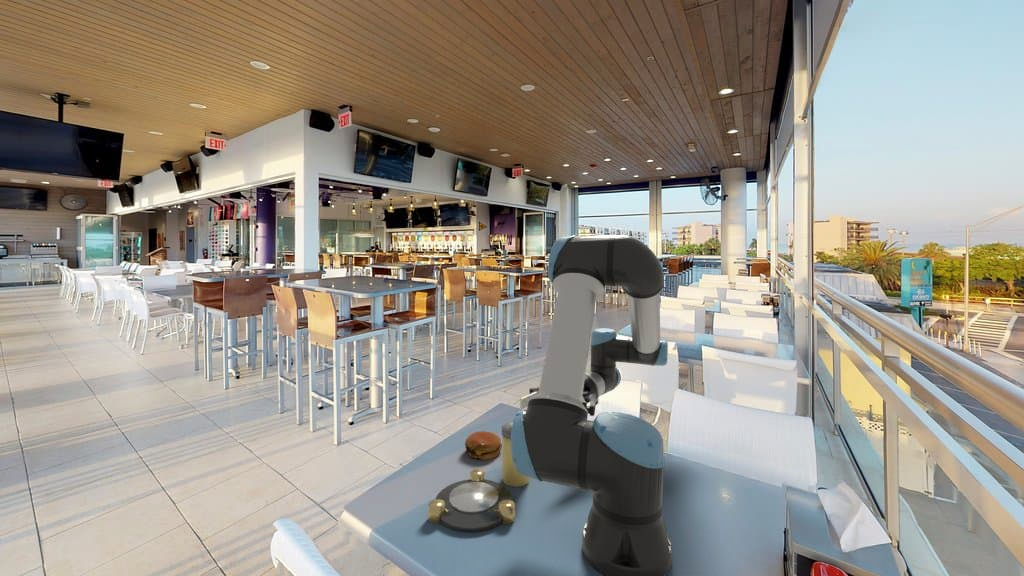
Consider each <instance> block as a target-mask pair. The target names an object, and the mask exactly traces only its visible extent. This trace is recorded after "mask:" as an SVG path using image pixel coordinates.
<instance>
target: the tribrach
mask: <svg viewBox="0 0 1024 576" xmlns="http://www.w3.org/2000/svg"><path fill="white" fill-rule="evenodd" d="M485 474H486V473H485V470H484V469H480V468H475V469H472V470H471V471H470V479H469V478H468V479H464V480H460V481H456V482H454V483H451V484H450V485H447V486H446V487H444V488H442V489H441V490H440V492H438V494H437V495H436V497H435V499H433V500H430V501H429V502H428V507H427V509H428V521H429V523H431V524H442V526H444V527H446V528H448V529H450V528H451V529H450V530H453V529H454V530H453V531H456V530H457V532H461V531H464V532H463V533H478V532H484V531H488V530H491V529H494V528H495V527H499V526H500V525H501V524H502V525H511V524H513V523H514V522H515V521H516V503H515V501H513V495H512V493H511V492H510V490H509V489H508V488H507V487H506V486H504V485H503V484H501V483H500V482H497V481H495V480H489V479H485Z"/></svg>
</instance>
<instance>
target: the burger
mask: <svg viewBox="0 0 1024 576" xmlns="http://www.w3.org/2000/svg"><path fill="white" fill-rule="evenodd" d="M464 445H465V450H466V451H465V452H466V453H467V454H468V456H470V457H472V458H473V459H480V460H482V461H488V460H493V459H495V458H497V457H498V456H499V455H500V453H501V450H502V449H503V443H502V442H501V438H500V436H499V435H498V434H496V433H495V432H491V431H484V430H483V431H482V430H480V431H475V432H473V433H471V434H470V435H468V436H467V438H466V440H465V442H464Z"/></svg>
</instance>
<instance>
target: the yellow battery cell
mask: <svg viewBox="0 0 1024 576" xmlns="http://www.w3.org/2000/svg"><path fill="white" fill-rule="evenodd" d="M512 424H513V421H510V422H506V423H504V424H503V425H501V435H502V481H503V483H504V484H505V485H506V486H509V487H513V486H514V487H515V488H516V487H517V488H520V487H523V486H526V485H529V483H530V482H531V478H529V477H526V476H523V475H521V474H520V473H519V472H518V471H517V470H516V468H515V466H514V463H513V459H512V454H511V430H512Z"/></svg>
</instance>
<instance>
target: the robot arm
mask: <svg viewBox="0 0 1024 576" xmlns="http://www.w3.org/2000/svg"><path fill="white" fill-rule="evenodd" d="M547 262H548V265H547V276H548V280H549V282H550V283H551V284H552V287H553V289H554V291H555V292H556V293H557V295H556V300H555V306H554V311H553V316H552V322H551V326H550V330H549V331H550V332H549V337H548V341H547V346H546V347H547V348H546V351H545V356H544V357H545V358H544V362H543V367H542V372H541V377H540V382H539V387H532V388H529V392H528V393H529V394H527V395H524V396H522V397H520V399H519V401H520V402H519V406H520V407H519V408H520V409H521V410H518V411H517V412H516V414H515V417H514V418H513V421H512V422H513V424H512V430H511V454H512V459H513V463H514V466H515V468H516V470H517V471H518V472H519V473H520V474H521V475H523V476H526V477H529V478H530V479H533V480H536V481H538V482H541V483H542V482H547V483H550V484H557V485H561V486H564V487H569V488H570V487H571V488H576V489H580V490H585V491H590V492H592V493H593V494H592V506H591V508H590V511H589V513H588V517H587V520H586V523H584V527H583V530H582V534H581V535H582V538H581V539H582V540H581V542H582V543H581V544H582V545H581V547H582V548H581V549H582V552H583V555H584V557H585V558H586V560H587V561H588V563H589V564H590V565H591V566H592V567H593V568H594V569H595V570H597V571H598V572H599V573H601V574H602V575H605V576H664V575H665V574H666V573H667V572H668V571H669V572H670V570H671V568H672V562H673V549H672V543H671V540H670V538H669V536H668V532H667V527H666V524H665V520H664V517H663V499H664V498H663V494H664V493H663V492H664V491H663V490H664V488H663V486H664V485H663V484H664V466H665V464H666V463H665V462H666V458H665V451H664V438H663V436H662V434H661V432H660V431H659V429H657V428H656V427H655V425H652V424H651V423H650V422H648V421H647V420H645V419H643V418H641V417H638V416H636V415H632V414H630V413H625V412H624V413H623V412H619V411H612V412H608V411H605V412H600V413H599V414H597V415H596V416H595V413H596V406H597V405H598V404H599V398H600V397H601V396H603V395H605V394H607V393H609V392H611V391H613V390H614V389H616V388H617V387H618V386H619V385H620V384H621V382H622V375H621V373H620V370H619V368H618V367H617V363H626V364H634V365H635V364H637V365H646V366H653V367H654V366H655V367H656V366H658V367H659V366H661V367H663V366H666V365H667V364H668V352H669V351H668V350H669V349H668V348H669V346H668V345H669V344H668V341H667V340H665V339H661V303H660V302H661V301H660V298H661V297H660V296H661V295H660V293H661V292H662V290H663V289H664V286H665V273H664V270H663V267H662V264H661V262H660V260H659V258H658V257H657V255H656V254H655V253H654V252H653V250H652V249H650V247H649V246H647V244H645V243H644V242H642V241H641V240H639V239H637V238H635V237H632V236H629V235H627V234H626V235H625V234H616V235H610V234H609V235H577V234H573V235H570V236H562V237H559V238H558V239H556V240H555V241H554V243H553V245H552V247H551V249H550V253H549V257H548V261H547ZM606 287H621V288H622V291H623V292H624V293H625V295H626V297H627V305H628V315H629V324H630V331H631V337H629V336H628V337H627V336H618V335H617V331H616V330H615V329H612V328H605V327H603V328H602V327H601V328H595V329H593V324H594V323H593V322H594V316H595V308H596V302H597V300H598V299H600V298H602V296H603V295H604V293H605V288H606ZM592 329H593V330H592ZM589 350H590V351H589ZM589 352H590V371H588V372H587V365H588V359H589ZM588 404H589V405H588ZM588 416H591V417H594V416H595V418H594V420H589V419H588ZM669 572H668V573H669ZM668 573H667V574H668ZM665 576H666V575H665Z"/></svg>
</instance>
